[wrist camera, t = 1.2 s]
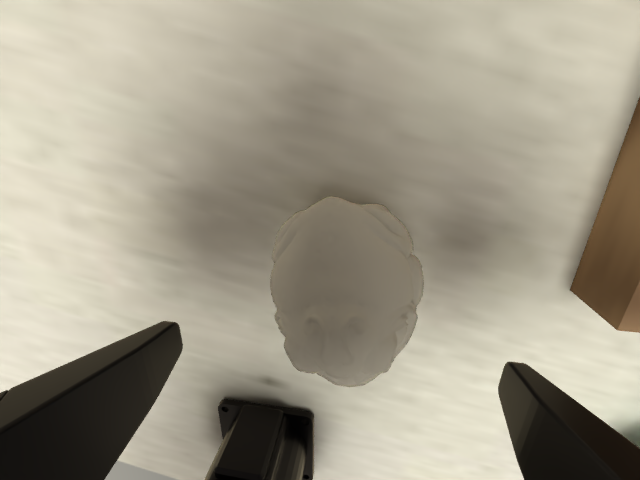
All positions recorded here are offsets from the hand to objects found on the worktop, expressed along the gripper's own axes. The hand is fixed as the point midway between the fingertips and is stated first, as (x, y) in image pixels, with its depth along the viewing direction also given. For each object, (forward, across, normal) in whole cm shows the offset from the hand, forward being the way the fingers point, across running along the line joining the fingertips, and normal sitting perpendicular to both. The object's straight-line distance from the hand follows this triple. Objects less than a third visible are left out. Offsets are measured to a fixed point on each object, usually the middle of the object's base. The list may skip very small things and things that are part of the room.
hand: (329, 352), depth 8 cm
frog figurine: (+8, 0, 0) cm, 8 cm away
